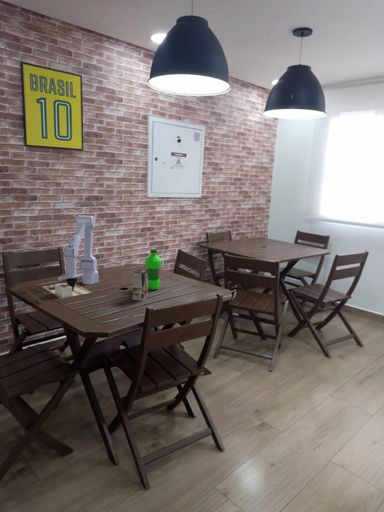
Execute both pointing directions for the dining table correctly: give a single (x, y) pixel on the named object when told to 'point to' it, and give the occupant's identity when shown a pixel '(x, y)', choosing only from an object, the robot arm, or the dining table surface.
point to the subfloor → (77, 291)
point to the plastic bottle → (153, 269)
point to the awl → (63, 280)
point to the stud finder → (63, 290)
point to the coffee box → (140, 284)
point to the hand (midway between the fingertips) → (71, 290)
